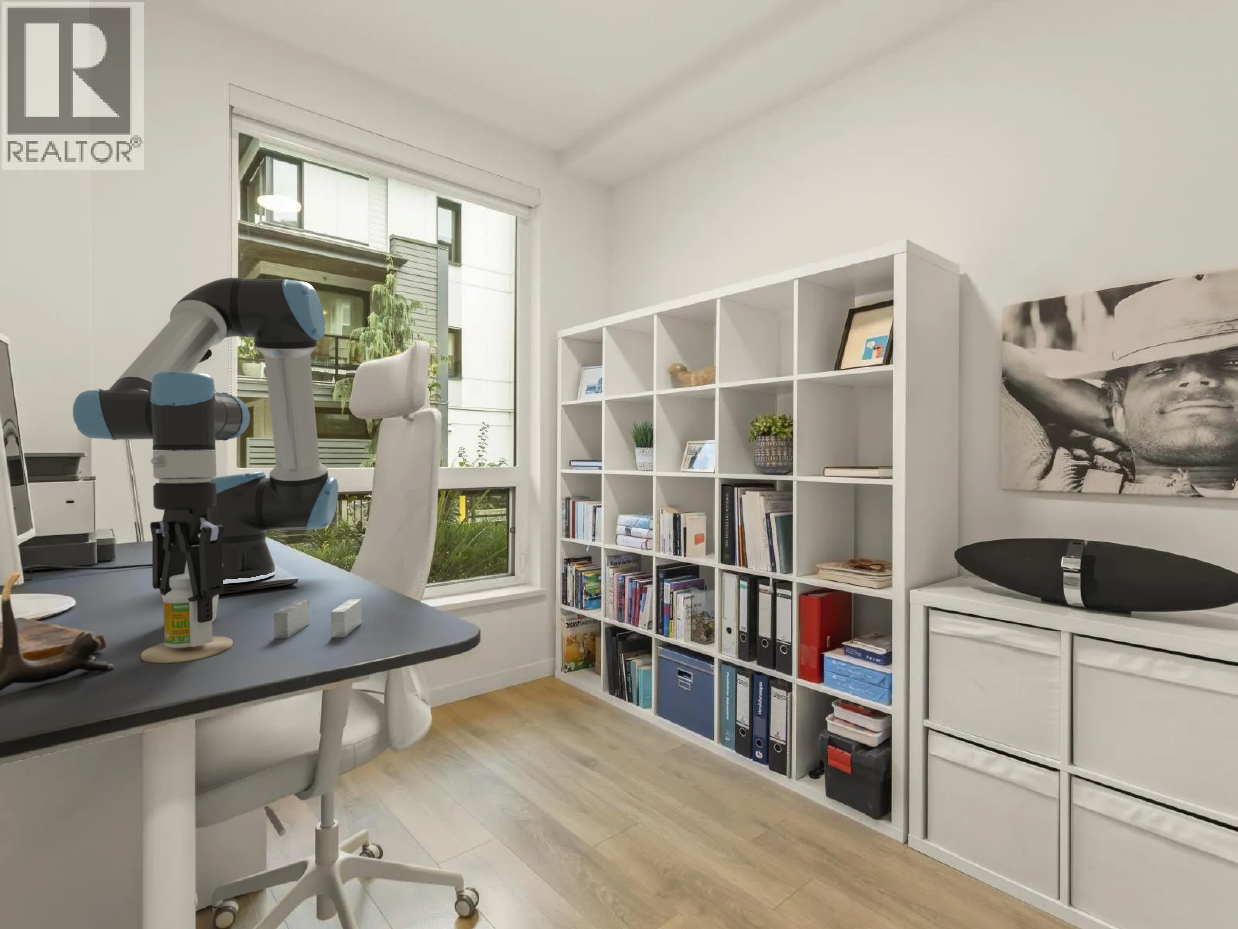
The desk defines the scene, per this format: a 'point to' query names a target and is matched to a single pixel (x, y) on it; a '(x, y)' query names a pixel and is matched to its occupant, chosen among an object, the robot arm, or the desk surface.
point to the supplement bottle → (177, 612)
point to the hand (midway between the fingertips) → (188, 640)
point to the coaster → (186, 651)
